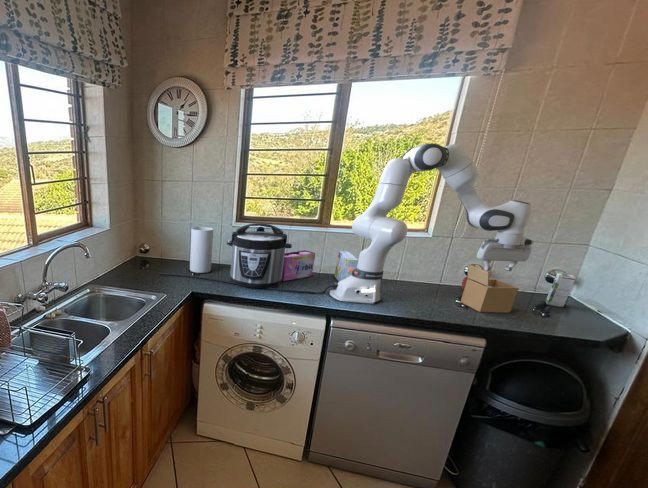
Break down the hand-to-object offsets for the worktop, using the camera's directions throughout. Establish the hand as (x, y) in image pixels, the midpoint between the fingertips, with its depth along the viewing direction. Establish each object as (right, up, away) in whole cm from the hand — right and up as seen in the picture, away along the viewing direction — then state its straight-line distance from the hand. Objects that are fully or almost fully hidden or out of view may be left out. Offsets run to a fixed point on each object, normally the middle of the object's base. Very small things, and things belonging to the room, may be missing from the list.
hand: (497, 270), depth 178 cm
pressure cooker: (-98, -3, +39) cm, 105 cm away
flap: (-7, -2, +1) cm, 8 cm away
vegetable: (+9, -9, +25) cm, 28 cm away
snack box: (-48, -2, +42) cm, 64 cm away
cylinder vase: (-124, +6, +61) cm, 139 cm away
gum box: (-73, +1, +50) cm, 89 cm away
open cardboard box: (0, -16, +7) cm, 18 cm away
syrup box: (+36, -15, +10) cm, 40 cm away
